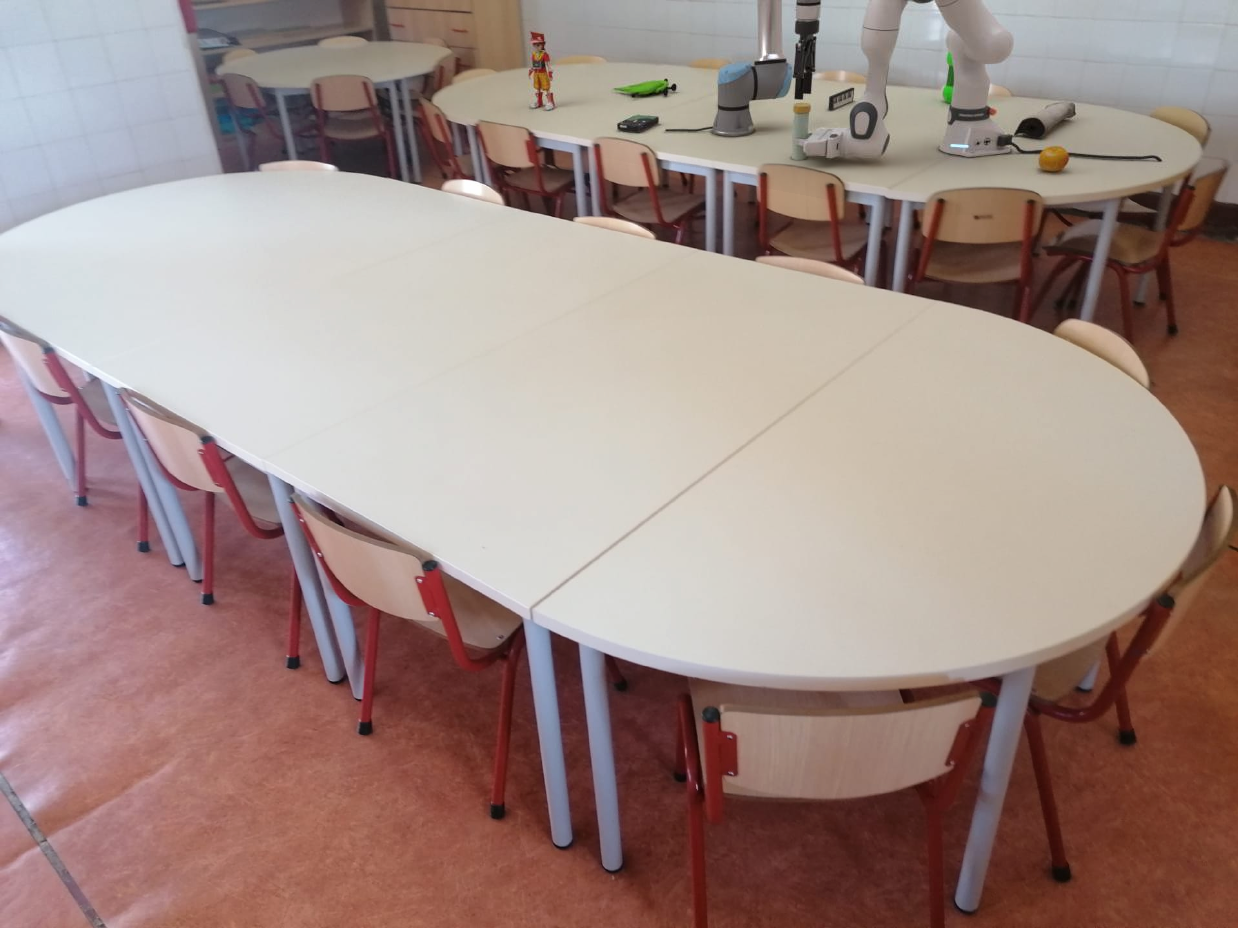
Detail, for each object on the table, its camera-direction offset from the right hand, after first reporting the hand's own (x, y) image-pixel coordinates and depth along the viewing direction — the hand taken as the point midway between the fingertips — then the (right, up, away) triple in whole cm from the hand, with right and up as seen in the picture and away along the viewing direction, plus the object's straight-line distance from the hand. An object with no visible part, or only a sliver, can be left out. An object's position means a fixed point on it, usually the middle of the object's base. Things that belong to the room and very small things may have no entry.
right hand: (797, 138), depth 302 cm
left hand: (0, +11, -8) cm, 14 cm away
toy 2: (-51, +55, +95) cm, 121 cm away
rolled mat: (+92, +10, +17) cm, 94 cm away
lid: (0, +9, -6) cm, 11 cm away
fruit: (+75, -18, -21) cm, 80 cm away
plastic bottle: (+73, +34, +53) cm, 96 cm away
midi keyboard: (+29, +34, +58) cm, 73 cm away
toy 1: (-93, +43, +81) cm, 131 cm away
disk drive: (-53, +21, +46) cm, 73 cm away
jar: (+1, -5, +3) cm, 6 cm away
